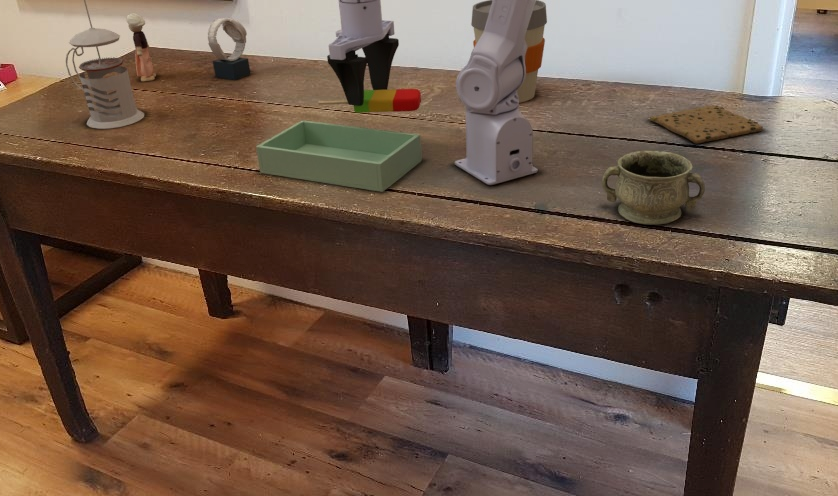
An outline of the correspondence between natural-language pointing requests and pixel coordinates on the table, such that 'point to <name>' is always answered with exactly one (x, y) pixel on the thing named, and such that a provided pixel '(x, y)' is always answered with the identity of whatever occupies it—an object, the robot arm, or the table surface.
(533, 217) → the table surface
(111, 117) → the french press
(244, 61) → the watch
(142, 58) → the grandmother figurine
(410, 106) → the popsicle
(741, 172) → the table surface
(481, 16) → the reusable coffee cup
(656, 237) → the table surface
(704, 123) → the cookie
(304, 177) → the tote
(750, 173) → the table surface
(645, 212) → the vessel
